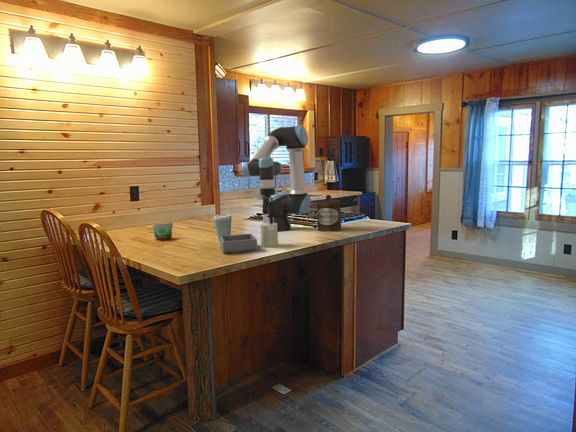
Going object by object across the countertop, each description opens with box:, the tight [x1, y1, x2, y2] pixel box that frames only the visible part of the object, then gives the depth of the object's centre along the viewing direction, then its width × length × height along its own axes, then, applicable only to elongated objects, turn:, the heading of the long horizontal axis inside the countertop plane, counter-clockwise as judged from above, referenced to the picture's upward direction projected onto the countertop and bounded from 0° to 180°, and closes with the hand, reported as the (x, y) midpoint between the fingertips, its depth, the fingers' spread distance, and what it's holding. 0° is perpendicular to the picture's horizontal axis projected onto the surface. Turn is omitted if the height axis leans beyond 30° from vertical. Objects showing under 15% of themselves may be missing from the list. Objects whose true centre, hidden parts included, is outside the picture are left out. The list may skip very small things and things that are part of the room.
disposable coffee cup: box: [212, 213, 233, 242], centre depth 236 cm, size 11×11×15 cm
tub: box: [219, 233, 258, 255], centre depth 213 cm, size 17×17×6 cm
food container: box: [151, 221, 174, 241], centre depth 246 cm, size 12×6×10 cm, turn 112°
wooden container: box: [316, 194, 342, 232], centre depth 259 cm, size 15×15×22 cm
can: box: [259, 222, 279, 248], centre depth 219 cm, size 9×9×12 cm
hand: (268, 227), depth 218 cm, fingers open, 13 cm apart
